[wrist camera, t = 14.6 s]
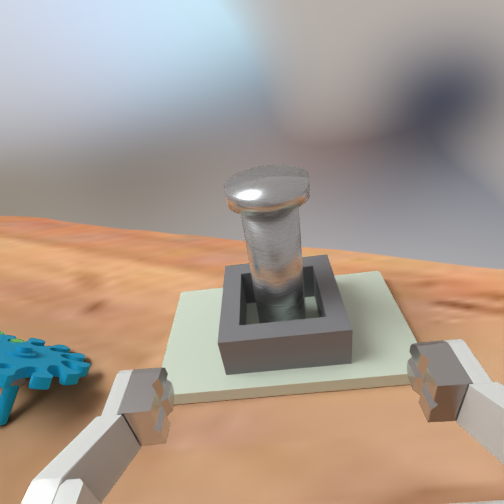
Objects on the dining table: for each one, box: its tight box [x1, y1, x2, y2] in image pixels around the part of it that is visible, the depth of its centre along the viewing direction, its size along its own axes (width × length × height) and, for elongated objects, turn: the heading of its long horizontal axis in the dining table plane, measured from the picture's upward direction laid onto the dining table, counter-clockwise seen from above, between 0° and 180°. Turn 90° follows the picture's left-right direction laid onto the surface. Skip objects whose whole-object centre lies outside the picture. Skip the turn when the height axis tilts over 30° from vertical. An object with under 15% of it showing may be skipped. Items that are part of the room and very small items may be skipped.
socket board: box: [162, 255, 417, 405], centre depth 29 cm, size 20×12×5 cm, turn 90°
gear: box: [0, 331, 91, 425], centre depth 27 cm, size 11×6×10 cm
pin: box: [224, 165, 310, 323], centre depth 26 cm, size 6×6×13 cm
